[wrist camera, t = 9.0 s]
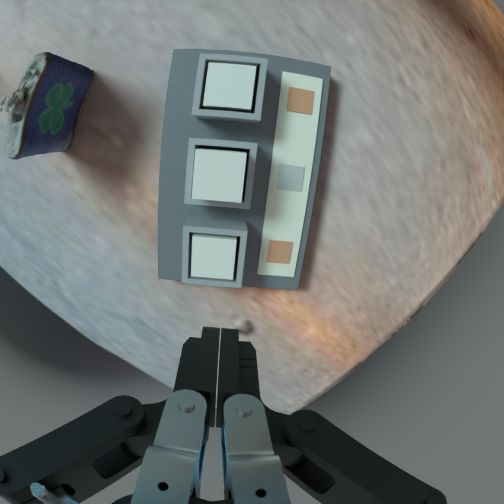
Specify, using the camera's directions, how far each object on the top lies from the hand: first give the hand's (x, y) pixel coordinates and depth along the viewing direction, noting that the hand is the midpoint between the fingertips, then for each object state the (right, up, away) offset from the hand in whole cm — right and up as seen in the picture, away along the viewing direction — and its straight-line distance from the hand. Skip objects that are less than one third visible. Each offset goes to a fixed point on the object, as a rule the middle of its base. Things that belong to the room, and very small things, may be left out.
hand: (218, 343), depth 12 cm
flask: (-17, +19, +11) cm, 27 cm away
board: (0, +12, +14) cm, 18 cm away
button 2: (0, +17, +9) cm, 20 cm away
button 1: (-2, +4, +15) cm, 15 cm away
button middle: (-1, +10, +11) cm, 15 cm away
